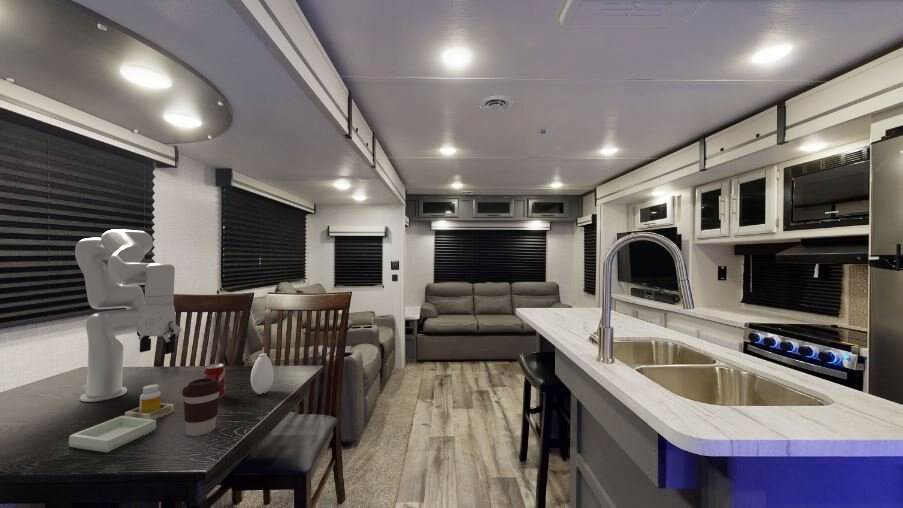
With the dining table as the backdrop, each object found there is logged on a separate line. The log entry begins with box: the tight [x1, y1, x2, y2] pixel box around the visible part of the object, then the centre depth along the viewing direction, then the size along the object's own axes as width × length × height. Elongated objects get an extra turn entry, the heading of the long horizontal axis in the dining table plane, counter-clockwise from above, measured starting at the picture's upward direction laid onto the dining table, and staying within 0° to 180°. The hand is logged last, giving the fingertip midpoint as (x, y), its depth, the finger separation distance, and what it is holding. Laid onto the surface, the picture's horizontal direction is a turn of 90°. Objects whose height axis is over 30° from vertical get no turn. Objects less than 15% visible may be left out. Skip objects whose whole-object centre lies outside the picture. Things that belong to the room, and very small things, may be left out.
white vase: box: [250, 347, 275, 395], centre depth 139 cm, size 8×8×18 cm
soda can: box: [203, 363, 226, 399], centre depth 133 cm, size 7×7×12 cm
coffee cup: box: [181, 377, 222, 437], centre depth 108 cm, size 10×10×15 cm
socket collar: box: [124, 402, 175, 420], centre depth 117 cm, size 9×9×2 cm
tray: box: [68, 415, 157, 453], centre depth 102 cm, size 13×13×3 cm
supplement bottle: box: [138, 383, 162, 413], centre depth 117 cm, size 5×5×10 cm
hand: (157, 352), depth 118 cm, fingers open, 9 cm apart
